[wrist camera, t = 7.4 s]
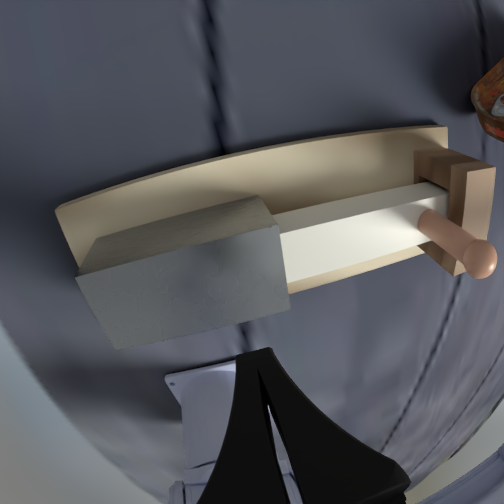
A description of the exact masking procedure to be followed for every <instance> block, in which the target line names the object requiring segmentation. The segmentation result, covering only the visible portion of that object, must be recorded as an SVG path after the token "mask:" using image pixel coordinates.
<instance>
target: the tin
mask: <svg viewBox="0 0 504 504" xmlns="http://www.w3.org/2000/svg"><path fill="white" fill-rule="evenodd" d="M471 101H472V103H473V105H474V106H475V109H476V112H477V115H478V119H479V121H480V124H481V126H482V128H483V129H484V130H485V132H486V133H487V134H489V135H490V136H492V137H494V138H495V139H498V140H500V141H502V142H504V57H503V58H502V59H501V60H500V61H499V62H498V63H497V64H496V65H495V66H494V67H493V68H492V69H491V70H490V71H489V72H487V73H486V74H485V75H484V76H483V77H482V78H481V79H480V80H479V81H478V82H477V83H476V84H475V85H474V87H473V89H472V91H471Z"/></svg>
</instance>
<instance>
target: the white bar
mask: <svg viewBox="0 0 504 504" xmlns="http://www.w3.org/2000/svg"><path fill="white" fill-rule="evenodd" d="M449 196H450V190H448V189H446V188H444V187H442V186H440V185H438V184H436V183H434V182H432V181H428V182H423V183H418V184H413V185H408V186H403V187H398V188H393V189H388V190H384V191H379V192H374V193H369V194H365V195H360V196H355V197H351V198H346V199H341V200H337V201H332V202H328V203H323V204H319V205H315V206H310V207H306V208H301V209H297V210H293V211H288V212H284V213H280V214H276V215H272V216H273V218H274V219H275V221H276V222H277V224H278V226H279V233H280V239H281V246H282V252H283V259H284V266H285V273H286V280H287V283H290V282H293V281H297V280H301V279H304V278H308V277H312V276H315V275H319V274H322V273H326V272H329V271H333V270H336V269H340V268H343V267H347V266H350V265H354V264H357V263H360V262H364V261H367V260H370V259H374V258H377V257H380V256H384V255H387V254H390V253H394V252H397V251H400V250H403V249H406V248H410V247H413V246H416V245H419V244H422V243H425V242H428V241H433V242H435V243H436V244H437V245H439V246H440V247H441V248H443V249H444V250H445V251H447V252H448V253H449V254H450V255H452V256H453V257H454V258H455V259H457V260H458V261H459V262H460V263H462V264H463V265H464V268H465V270H466V271H467V273H468V274H469V275H470V276H472V277H474V278H477V279H483V278H486V277H488V276H489V275H490V274H492V272H493V271H494V269H495V267H496V264H497V253H496V250H495V248H494V247H493V245H492V244H491V243H489V242H488V241H486V240H483V239H477V238H476V237H474V236H473V235H471V234H470V233H468V232H467V231H465V230H464V229H462V228H461V227H459V226H458V225H456V224H455V223H453V222H452V221H450V220H449V219H448V209H449Z"/></svg>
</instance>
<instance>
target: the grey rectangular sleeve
mask: <svg viewBox="0 0 504 504" xmlns="http://www.w3.org/2000/svg"><path fill="white" fill-rule="evenodd" d="M75 279H76V281H77V283H78V285H79V287H80V289H81V291H82V293H83V295H84V297H85V299H86V300H87V302H88V304H89V306H90V308H91V309H92V311H93V313H94V315H95V317H96V318H97V320H98V322H99V323H100V325H101V327H102V329H103V330H104V332H105V334H106V335H107V337H108V339H109V340H110V342H111V343H112V345H113V347H114V348H115V350H119V349H124V348H130V347H135V346H140V345H145V344H150V343H155V342H160V341H164V340H169V339H174V338H178V337H183V336H187V335H192V334H196V333H200V332H205V331H209V330H213V329H217V328H222V327H226V326H230V325H234V324H238V323H242V322H246V321H249V320H253V319H257V318H261V317H265V316H268V315H272V314H276V313H279V312H283V311H287V310H290V309H291V308H290V301H289V294H288V287H287V280H286V273H285V266H284V259H283V252H282V246H281V239H280V233H279V226H278V224H277V222H276V221H275V219H274V218H273V216H272V215H271V213H270V212H269V210H268V209H267V207H266V206H265V204H264V203H263V201H262V200H261V198H260V197H259V195H256V196H252V197H247V198H243V199H239V200H235V201H231V202H227V203H223V204H219V205H214V206H210V207H207V208H203V209H199V210H195V211H191V212H187V213H183V214H180V215H176V216H172V217H168V218H165V219H161V220H157V221H154V222H150V223H147V224H143V225H140V226H136V227H133V228H129V229H126V230H122V231H119V232H115V233H112V234H109V235H105V236H102V237H99V238H96V239H95V241H94V243H93V245H92V246H91V248H90V250H89V252H88V254H87V255H86V257H85V259H84V261H83V263H82V265H81V266H80V268H79V270H78V272H77V274H76V276H75Z"/></svg>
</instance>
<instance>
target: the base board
mask: <svg viewBox="0 0 504 504" xmlns="http://www.w3.org/2000/svg"><path fill="white" fill-rule="evenodd" d="M440 147H444V148H447V149H448V131H447V127H446V126H442V125H424V126H410V127H398V128H387V129H377V130H368V131H360V132H352V133H344V134H337V135H330V136H323V137H317V138H310V139H304V140H298V141H293V142H287V143H282V144H276V145H271V146H266V147H261V148H256V149H251V150H246V151H242V152H237V153H233V154H228V155H224V156H220V157H215V158H211V159H207V160H203V161H199V162H195V163H191V164H187V165H183V166H180V167H176V168H172V169H169V170H165V171H161V172H158V173H154V174H151V175H148V176H144V177H141V178H138V179H134V180H131V181H128V182H125V183H122V184H118V185H115V186H112V187H109V188H106V189H103V190H100V191H97V192H94V193H92V194H89V195H86V196H83V197H80V198H77V199H75V200H72V201H69V202H67V203H64V204H61V205H60V206H59V207H58V208H57V209H56V210H54V211H55V213H56V216H57V218H58V221H59V223H60V226H61V228H62V230H63V233H64V235H65V238H66V240H67V242H68V244H69V247H70V249H71V251H72V253H73V256H74V258H75V260H76V262H77V264H78V266H79V268H80V266H81V265H82V263H83V261H84V259H85V257H86V255H87V254H88V252H89V250H90V248H91V246H92V245H93V243H94V241H95V239H96V238H99V237H102V236H105V235H109V234H112V233H115V232H119V231H122V230H126V229H129V228H133V227H136V226H140V225H143V224H147V223H150V222H154V221H157V220H161V219H165V218H168V217H172V216H176V215H180V214H183V213H187V212H191V211H195V210H199V209H203V208H207V207H210V206H214V205H219V204H223V203H227V202H231V201H235V200H239V199H243V198H247V197H252V196H256V195H259V197H260V198H261V200H262V201H263V203H264V204H265V206H266V207H267V209H268V210H269V212H270V213H271V215H276V214H280V213H284V212H288V211H293V210H297V209H301V208H306V207H310V206H315V205H319V204H323V203H328V202H332V201H337V200H341V199H346V198H351V197H355V196H360V195H365V194H369V193H374V192H379V191H384V190H388V189H393V188H398V187H403V186H408V185H413V184H414V152H413V151H415V150H423V149H431V148H440ZM422 253H425V252H424V251H423V250H421V249H420V248H419V247H418V246H413V247H410V248H406V249H403V250H400V251H397V252H394V253H390V254H387V255H384V256H380V257H377V258H374V259H370V260H367V261H364V262H360V263H357V264H354V265H350V266H347V267H343V268H340V269H336V270H333V271H329V272H326V273H322V274H319V275H315V276H312V277H308V278H304V279H301V280H297V281H293V282H290V283H287V287H288V294H291V293H295V292H298V291H302V290H305V289H309V288H313V287H316V286H319V285H323V284H326V283H330V282H333V281H337V280H340V279H343V278H347V277H350V276H353V275H357V274H360V273H363V272H366V271H370V270H373V269H376V268H379V267H382V266H385V265H389V264H392V263H395V262H398V261H401V260H404V259H407V258H410V257H413V256H416V255H419V254H422Z"/></svg>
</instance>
